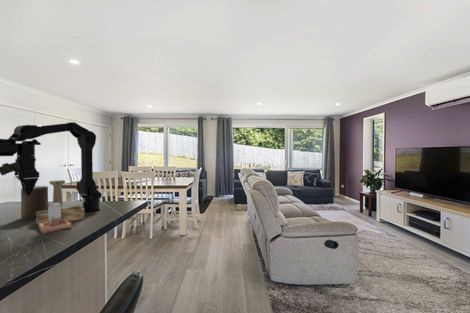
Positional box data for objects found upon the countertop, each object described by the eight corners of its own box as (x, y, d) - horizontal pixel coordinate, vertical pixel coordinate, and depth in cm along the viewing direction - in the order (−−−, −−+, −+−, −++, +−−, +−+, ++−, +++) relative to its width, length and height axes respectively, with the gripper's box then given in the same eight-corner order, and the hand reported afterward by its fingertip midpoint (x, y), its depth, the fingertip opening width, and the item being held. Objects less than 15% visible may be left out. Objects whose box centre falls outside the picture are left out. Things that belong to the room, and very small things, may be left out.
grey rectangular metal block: (53, 214, 109) (53, 208, 109) (55, 215, 107) (54, 210, 106) (35, 217, 104) (35, 211, 104) (37, 218, 102) (37, 212, 102)
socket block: (79, 215, 118) (79, 205, 118) (84, 218, 112) (84, 208, 112) (36, 222, 106) (36, 211, 106) (39, 226, 101) (39, 215, 101)
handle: (65, 210, 128) (65, 180, 127) (50, 212, 124) (49, 181, 123) (65, 208, 132) (64, 179, 131) (50, 210, 128) (49, 180, 127)
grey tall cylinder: (59, 224, 102) (59, 202, 101) (62, 226, 99) (61, 203, 99) (47, 226, 99) (47, 203, 98) (49, 228, 96) (49, 205, 96)
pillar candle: (42, 219, 112) (42, 185, 111) (16, 220, 109) (16, 186, 109) (51, 214, 121) (51, 182, 121) (27, 215, 118) (27, 183, 118)
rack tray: (65, 223, 105) (65, 219, 105) (71, 228, 99) (71, 223, 99) (38, 228, 99) (38, 223, 99) (42, 233, 92) (42, 228, 92)
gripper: (-3, 155, 104) (-2, 193, 104) (0, 156, 91) (1, 200, 91) (32, 155, 112) (33, 190, 112) (39, 156, 99) (39, 196, 99)
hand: (26, 194), depth 103 cm, fingers open, 9 cm apart
